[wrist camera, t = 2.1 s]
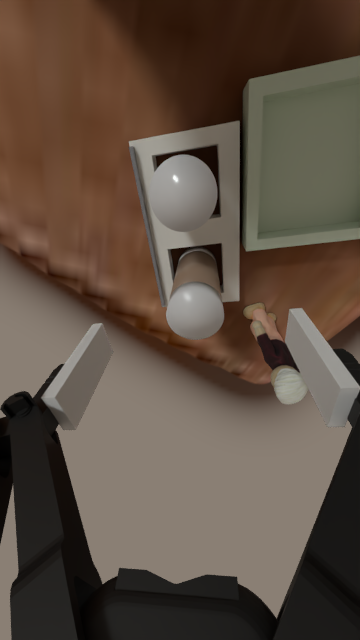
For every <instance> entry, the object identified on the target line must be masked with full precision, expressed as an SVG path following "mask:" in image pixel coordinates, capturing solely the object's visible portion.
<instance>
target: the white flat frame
mask: <svg viewBox="0 0 360 640" xmlns="http://www.w3.org/2000/svg"><path fill="white" fill-rule="evenodd" d="M129 145H130V147H129V150H130V155H131V160H132V165H133V169H134V174H135V179H136V184H137V189H138V193H139V198H140V203H141V208H142V213H143V217H144V222H145V227H146V232H147V237H148V241H149V246H150V251H151V256H152V261H153V265H154V270H155V275H156V280H157V285H158V289H159V294H160V299H161V304H162V307H168V303H169V299H170V295H171V291H172V287H173V283H174V278H175V274H174V268H173V262H172V256H171V249H175V248H183V247H192V246H201V245H209V244H218V243H221V257H222V281H223V285H221V286H220V290H221V296H222V302H232V301H239V223H240V121H235V122H229V123H224V124H219V125H214V126H208V127H203V128H198V129H192V130H187V131H182V132H177V133H171V134H166V135H161V136H155V137H150V138H145V139H140V140H134V141H129ZM212 146H217V158H218V183H219V207H220V214H214V215H211V217H210V218H209V219H208V221H207V222H206V223H205V224H203V225H202V226H201V227H199V228H197V229H195V230H193V231H189V232H178V231H174V230H171V229H169V228H167V227H166V226H164V225H163V224H162V223H161V222H160V221H159V220H158V219H157V217H156V216H155V214H154V212H153V210H152V207H151V203H150V197H149V189H150V183H151V180H152V177H153V175H154V173H155V171H156V170H157V162H156V156H161V155H166V154H172V153H178V152H183V151H189V150H195V149H200V148H206V147H212Z"/></svg>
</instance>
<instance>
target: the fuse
mask: <svg viewBox="0 0 360 640" xmlns="http://www.w3.org/2000/svg"><path fill="white" fill-rule="evenodd" d="M149 197H150V203H151V207H152V210H153V212H154V214H155V216H156V217H157V219H158V220H159V221H160V222H161V223H162V224H163V225H164V226H166V227H167V228H169V229H171V230H174V231H178V232H189V231H193V230H195V229H197V228H199V227H201V226H202V225H203V224H205V223H206V222H207V221H208V219H209V218H210V217H211V215H212V213H213V211H214V209H215V206H216V202H217V185H216V181H215V178H214V175H213V173H212V171H211V170H210V169H209V167H208V166H207V165H206V164H205V163H204V162H203V161H201V160H200V159H198V158H196V157H194V156H190V155H176V156H173V157H171V158H168V159H167V160H165V161H164V162H163V163H162V164H161V165H160V166H159V167H158V168H157V170H156V171H155V173H154V175H153V177H152V180H151V183H150V189H149Z"/></svg>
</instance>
